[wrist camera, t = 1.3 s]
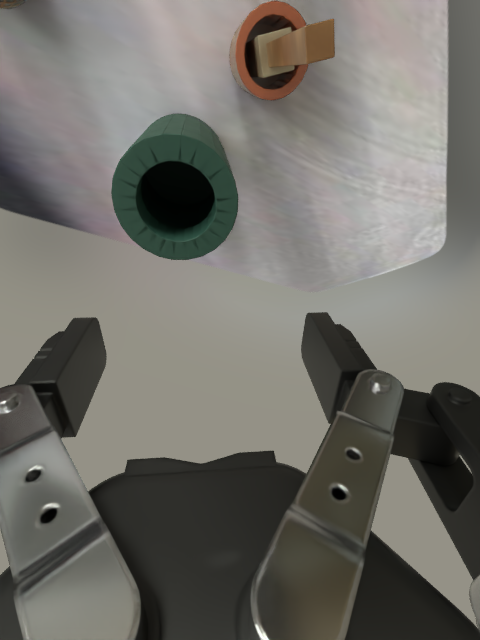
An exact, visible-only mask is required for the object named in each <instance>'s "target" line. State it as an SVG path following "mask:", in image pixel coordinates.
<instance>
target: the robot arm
mask: <svg viewBox="0 0 480 640" xmlns="http://www.w3.org/2000/svg"><path fill="white" fill-rule="evenodd" d="M301 352H302V358H303V362H304V364H305V367H306V369H307V372H308V374H309V376H310V379H311V381H312V384H313V386H314V388H315V391H316V393H317V396H318V398H319V401H320V403H321V406H322V408H323V411H324V413H325V416H326V418H327V420H328V423H329V424H330V423H331V425H330V427H329V429H328V431H327V433H326V435H325V437H324V439H323V441H322V443H321V445H320V447H319V449H318V451H317V454H316V456H315V458H314V460H313V462H312V464H311V466H310V468H309V470H308V472H307V474H306V473H304V472H302V471H300V470H298V469H297V468H294V467H292V466H289V465H286V464H282V463H278V462H276V459H275V455H274V451H262V452H261V451H260V452H245V453H237V454H233V455H230V456H227V457H224V458H220V459H217V460H214V461H210V462H207V463H203V464H199V463H193V462H187V461H182V460H176V459H170V458H148V459H133V460H127V465H126V469H125V472H124V473H121V474H118V475H116V476H113V477H111V478H109V479H107V480H105V481H103V482H101V483H100V484H98V485H97V486H95V487H94V488H92V489H91V490H90V491H87V489H86V487H85V485H84V483H83V481H82V479H81V477H80V475H79V473H78V471H77V469H76V468H75V466H74V464H73V462H72V460H71V458H70V456H69V454H68V452H67V450H66V448H65V446H64V444H63V442H62V440H61V438H62V437H76V435H77V432H78V430H79V428H80V425H81V423H82V421H83V418H84V416H85V413H86V411H87V409H88V406H89V404H90V402H91V399H92V397H93V394H94V392H95V390H96V387H97V385H98V382H99V380H100V378H101V376H102V373H103V371H104V368H105V365H106V350H105V346H104V341H103V337H102V333H101V329H100V325H99V321H98V320H97V318H74V319H73V320H72V321H71V322H70V324H69V325H68V327H67V328H66V330H65V331H62V332H58V333H56V334H55V335H53V336H52V337H51V338H49V339H48V340H47V341H46V342H45V344H44V345H43V346H42V347H41V349H40V351H38V353H37V354H36V355H35V358H34V359H33V360H32V361H31V362H30V364H29V365H28V366H27V368H26V369H25V370H24V372H23V373H22V374H21V376H20V377H19V378H18V380H17V381H16V382H15V384H13V385H8V386H5V387H2V388H0V529H1V533H2V537H3V541H4V545H5V549H6V553H7V557H8V561H9V565H10V566H9V567H8V568H7V569H6V570H5V571H4V572H3V573H2V574H1V575H0V640H480V397H479V396H478V395H477V394H476V393H474V392H473V391H471V390H469V389H467V388H465V387H463V386H461V385H458V384H454V383H447V382H444V383H438V384H436V385H435V386H434V387H433V389H432V391H431V393H430V394H429V393H424V392H418V391H413V390H408V389H404V387H403V385H402V384H401V382H400V381H399V380H398V379H396V378H395V377H394V376H392V375H390V374H389V373H386V372H384V371H380V370H377V369H376V367H375V366H374V364H373V363H372V362H371V360H370V359H369V357H368V356H367V354H366V353H365V352H364V350H363V349H362V348H361V346H360V344H359V343H358V342H357V341H356V338H355V337H354V336H353V334H352V333H351V331H349V330H348V329H346V328H345V327H344V326H342V325H341V324H337V325H336V324H334V322H333V321H332V319H331V317H330V316H329V315H328V313H327V312H324V313H323V312H322V313H308V314H307V315H306V319H305V326H304V332H303V339H302V345H301ZM390 454H393V455H398V456H402V457H406V458H408V459H409V461H410V463H411V465H412V467H413V468H414V470H415V472H416V474H417V476H418V478H419V480H420V481H421V483H422V485H423V487H424V489H425V491H426V492H427V495H428V496H429V498H430V500H431V502H432V503H433V506H434V508H435V509H436V511H437V513H438V515H439V517H440V518H441V521H442V522H443V524H444V526H445V528H446V530H447V532H448V534H449V535H450V537H451V539H452V541H453V543H454V545H455V547H456V548H457V550H458V552H459V554H460V556H461V558H462V560H463V562H464V563H465V565H466V567H467V569H468V571H469V573H470V575H471V576H472V578H473V582H472V583H471V586H470V591H469V596H470V602H471V606H472V609H473V611H474V614H475V617H476V624H477V627H478V628H477V627H476V626H475V625H474V624H473V623H472V622H471V621H470V620H469V619H468V618H467V617H466V616H465V615H464V614H463V613H462V612H461V611H460V610H459V609H458V608H457V607H456V606H455V605H453V604H452V603H451V602H450V601H449V600H448V599H447V598H446V597H444V596H443V595H442V594H441V593H440V592H439V591H438V590H437V589H436V588H434V587H433V586H432V585H431V584H430V583H429V582H428V581H427V580H426V579H424V578H423V577H422V576H421V575H420V574H418V572H417V571H416V570H414V569H413V568H412V567H411V566H410V565H408V563H407V562H406V561H404V560H403V559H402V558H401V557H400V556H399V555H398V554H396V552H394V551H393V550H392V549H391V548H390V547H389V546H388V545H387V544H385V543H384V542H383V541H382V540H381V539H380V538H379V537H378V536H377V535H375V534H374V533H373V532H372V531H371V527H372V523H373V519H374V515H375V511H376V507H377V504H378V500H379V496H380V492H381V488H382V484H383V480H384V476H385V472H386V468H387V465H388V460H389V457H390ZM459 455H461V456H462V458H463V459H464V460H465V462H466V463H467V465H468V466H469V468H470V469H471V472H472V474H471V472H470V471H469V470H468V468H467V467H466V465H465V464H464V463H463V461H462V459H461V458H460V457H459Z"/></svg>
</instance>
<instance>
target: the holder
mask: <svg viewBox="0 0 480 640" xmlns="http://www.w3.org/2000/svg"><path fill="white" fill-rule="evenodd" d="M304 26H306V23H305V21H304V19H303V18H302V16H301V15H300V14H299V12H298V11H297V10H296V9H295V8H293V7H292V6H290V5H289V4H287V3H285V2H279V1H271V2H267V3H263V4H262V5H259V6H258V7H257V8H255V9H254V10H253V11H252V12H250V13H249V15H248V16H247V17H246V18H245V19H244V20H243V22H242V23H241V24H240V26H239V27H238V29H237V30H236V32H235V34H234V36H233V39H232V42H231V46H230V54H229V58H230V67H231V71H232V74H233V76H234V78H235V80H236V82H237V84H238V85H239V86H240V87H241V88H242V89H243V90H244V91H245V92H247V93H249V94H251V95H253V96H256V97H258V98H261V99H265V100H276V99H280V98H283V97H285V96H287V95H288V94H290V93H291V92H293V90H295V88H296V87H297V86H298V85H299V83H300V82H301V80H302V79H303V77H304V75H305V73H306V70H307V68H308V64H304V65H294V70H292V71H288V72H284V73H281V74H277V75H273V76H269V77H265V78H257V77H251V74H250V67H249V61H248V54H247V47H246V43H247V42H249V41H251V40H252V39H254V38H255V37H257V36H259V35H262V34H266V33H270V32H274V31H277V30H281V29H285V28H288V27H291V31H292V32H293V31H295V30H298V29H300V28H302V27H304Z"/></svg>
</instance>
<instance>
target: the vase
mask: <svg viewBox="0 0 480 640" xmlns="http://www.w3.org/2000/svg"><path fill="white" fill-rule="evenodd" d="M25 1H26V0H0V8H3V9H9V8H14V7H17V6H19V5H21V4H22V3H24V2H25Z"/></svg>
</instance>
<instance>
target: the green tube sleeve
mask: <svg viewBox="0 0 480 640" xmlns="http://www.w3.org/2000/svg"><path fill="white" fill-rule="evenodd" d="M111 194H112V200H113V206H114V210H115V213H116V215H117V218H118V220H119V222H120V224H121V226H122V228H123V229H124V230H125V231H126V233H127V234H128V235H129V237H130V238H131V239H132V240H133V241H134V242H136V243H137V244H138V245H139V246H141V247H142V248H143V249H145V250H147V251H149V252H151V253H153V254H155V255H157V256H159V257H163V258H167V259H171V260H172V259H173V260H187V259H188V260H189V259H193V258H197V257H201V256H204V255H206V254H207V253H209V252H211V251H213V250H215V249H216V248H217V247H218V246H219V245H220V244H221V243H222V242H223V241H224V240H225V239H226V238H227V236H228V235H229V233H230V232H231V230H232V228H233V226H234V222H235V219H236V216H237V212H238V193H237V188H236V184H235V180H234V177H233V174H232V171H231V168H230V165H229V163H228V160H227V157H226V154H225V151H224V148H223V146H222V144H221V142H220V140H219V138H218V136H217V135H216V134H215V132H214V131H213V130H212V129H211V128H210V127H209V126H208V125H207V124H206V123H204V122H203V121H201V120H200V119H198V118H196V117H193V116H190V115H186V114H171V115H167V116H164V117H162V118H160V119H158V120H157V121H155V122H154V123H152V124H151V125H150V126H149V127H148V129H147V130H146V131H145V132H144V133H143V134H142V135H141V136H140V137H139V138H138V139H137V141H136V142H135V143H134V144H133V145H132V146H131V147H130V148H129V149H128V151H127V152H126V153H125V154H124V156H123V157H122V158H121V159H120V161H119V163H118V165H117V168H116V170H115V173H114V175H113V181H112V192H111Z"/></svg>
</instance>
